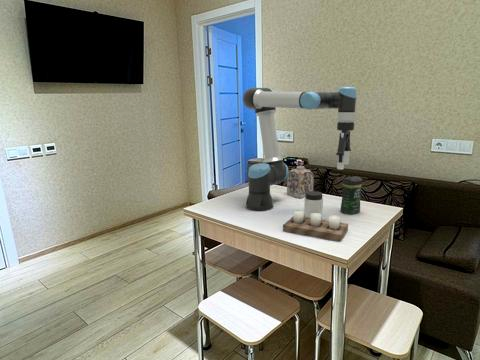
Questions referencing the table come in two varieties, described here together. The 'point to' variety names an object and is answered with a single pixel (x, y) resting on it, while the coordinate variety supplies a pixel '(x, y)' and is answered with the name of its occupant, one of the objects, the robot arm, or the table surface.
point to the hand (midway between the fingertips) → (342, 166)
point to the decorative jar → (299, 182)
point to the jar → (313, 203)
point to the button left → (298, 216)
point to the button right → (334, 222)
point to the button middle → (315, 219)
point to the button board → (316, 229)
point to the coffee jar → (351, 195)
